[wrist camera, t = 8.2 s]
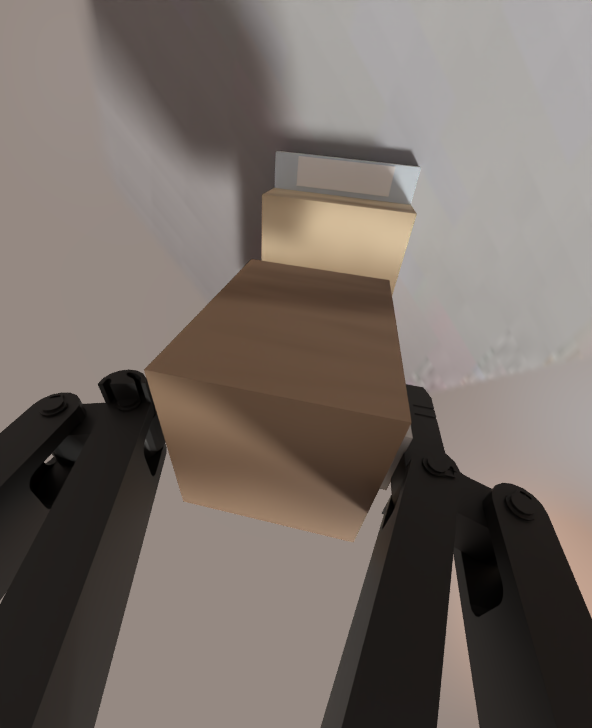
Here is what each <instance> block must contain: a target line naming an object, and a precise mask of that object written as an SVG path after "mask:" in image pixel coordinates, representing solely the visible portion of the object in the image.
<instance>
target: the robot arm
mask: <svg viewBox="0 0 592 728" xmlns="http://www.w3.org/2000/svg"><path fill="white" fill-rule="evenodd" d="M98 386H99V388H100V390H101V393H102V395H103V397H104V400H105V402H106V403H92V404H82V403H81V401H80V399H79V398H78V396H77V395H75V394H72V393H58V394H53V395H50V396H47V397H45V398H43V399H41V400H39V401H38V402H36V403H35V404H33V405H32V406H31V407H30V408H29V409H28V410H26V411H25V412H24V413H23V414H22V415H21V416H20V417H18V418H17V419H16V420H15V421H14V422H12V423H11V424H10V425H9V426H8V427H7V428H6V429H4V430H3V431H2V432H1V433H0V600H1V598H2V597H3V596H4V594H5V593H6V594H5V596H4V598H3V600H2V602H1V604H0V728H94V726H95V722H96V718H97V714H98V711H99V707H100V703H101V699H102V695H103V692H104V688H105V684H106V680H107V677H108V673H109V669H110V665H111V661H112V658H113V653H114V650H115V646H116V642H117V639H118V635H119V631H120V627H121V623H122V619H123V616H124V611H125V608H126V604H127V601H128V597H129V593H130V589H131V585H132V582H133V578H134V574H135V570H136V566H137V563H138V559H139V555H140V551H141V547H142V544H143V540H144V536H145V532H146V528H147V525H148V521H149V517H150V513H151V509H152V505H153V502H154V498H155V494H156V490H157V487H158V483H159V479H160V475H161V471H162V467H163V464H164V460H165V456H166V444H165V443H166V441H165V438H164V435H163V431H162V428H161V425H160V421H159V418H158V415H157V411H156V408H155V405H154V401H153V398H152V395H151V391H150V388H149V385H148V381H147V378H146V377H145V376H144V374H143V373H141V372H139V371H136V370H122V371H118V372H114V373H112V374H109V375H108V376H106V377H104V378H103V379H102V380H101V381H100V382H99V383H98ZM406 390H407V396H408V403H409V409H410V416H411V422H412V423H411V425H410V427H409V429H408V431H407V433H406V435H405V437H404V439H403V441H402V443H401V445H400V447H399V450H398V452H397V454H396V456H395V458H394V460H393V462H392V464H391V466H390V468H389V470H388V472H387V474H386V476H385V478H384V480H383V482H382V484H381V487H380V489H383V490H387V488H388V486H389V484H390V482H391V491H392V495H391V497H390V499H389V501H388V502H387V504H386V506H385V508H384V510H383V512H382V514H384V516H383V520H382V523H381V527H380V530H379V533H378V537H377V540H376V544H375V547H374V550H373V553H372V557H371V560H370V564H369V567H368V570H367V573H366V577H365V580H364V584H363V587H362V590H361V594H360V597H359V601H358V604H357V607H356V610H355V614H354V617H353V620H352V624H351V627H350V630H349V634H348V637H347V641H346V644H345V648H344V651H343V654H342V657H341V661H340V664H339V667H338V671H337V674H336V678H335V681H334V684H333V688H332V691H331V694H330V698H329V701H328V704H327V708H326V711H325V715H324V718H323V721H322V725H321V728H437V719H438V709H439V699H440V698H439V697H440V688H441V677H442V667H443V657H444V645H445V636H446V624H447V615H448V603H449V593H450V583H451V572H452V561H453V554H454V560H455V567H456V573H457V580H458V587H459V593H460V600H461V607H462V613H463V619H464V626H465V633H466V639H467V647H468V653H469V659H470V667H471V673H472V680H473V687H474V693H475V700H476V706H477V713H478V720H479V727H480V728H592V618H591V616H590V613H589V611H588V609H587V606H586V604H585V602H584V599H583V597H582V594H581V592H580V590H579V587H578V585H577V582H576V581H575V578H574V575H573V573H572V571H571V568H570V566H569V563H568V561H567V559H566V556H565V554H564V552H563V549H562V547H561V545H560V542H559V540H558V537H557V535H556V533H555V530H554V528H553V525H552V523H551V521H550V518H549V516H548V514H547V512H546V511H545V509H544V507H543V506H542V504H541V503H540V502H539V501H538V500H537V499H536V498H535V497H534V496H533V495H532V494H530V493H529V492H527V491H526V490H524V489H523V488H521V487H518V486H516V485H513V484H509V483H501V484H498V485H495V486H494V488H493V489H491V488H489V487H487V486H485V485H483V484H481V483H479V482H477V481H474V480H472V479H470V478H469V477H467V476H465V475H463V474H462V473H461V472H460V471H459V469H458V467H457V465H456V463H455V462H454V461H453V460H452V459H451V458H450V457H449V456H448V455H447V454H445V451H444V447H443V443H442V439H441V435H440V431H439V427H438V423H437V420H436V415H435V411H434V407H433V403H432V399H431V397H430V396H429V394H428V393H427V392H426V390H425V389H424V388H423V387H418V386H412V385H407V384H406ZM51 454H52V455H53V456H54V457H53V458H52V459H51V460H50V461H49V462H47V463H44V461H45V460H46V459H47V458H48V457H49V456H50V455H51Z"/></svg>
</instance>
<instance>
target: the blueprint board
mask: <svg viewBox="0 0 592 728" xmlns="http://www.w3.org/2000/svg"><path fill="white" fill-rule="evenodd" d="M420 170H421V167H419V166H411V165H402V164H393V163H384V162H375V161H366V160H357V159H348V158H339V157H330V156H321V155H312V154H303V153H294V152H285V151H276V157H275V188H280V189H288V190H296V191H304V192H312V193H320V194H328V195H337V196H345V197H353V198H361V199H369V200H377V201H385V202H393V203H401V204H409V205H411V202H412V198H413V195H414V191H415V188H416V184H417V181H418V177H419V174H420Z"/></svg>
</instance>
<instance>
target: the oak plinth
mask: <svg viewBox="0 0 592 728" xmlns="http://www.w3.org/2000/svg"><path fill="white" fill-rule="evenodd" d="M416 215H417V214H416V212H415V211H414V209H413V208H412V206H411V205H409V204H401V203H393V202H385V201H377V200H369V199H361V198H353V197H345V196H337V195H328V194H320V193H312V192H304V191H296V190H288V189H280V188H273V189H271V190H269V191H268V192H266V193H264V194H262V261H268V262H274V263H281V264H287V265H294V266H301V267H307V268H314V269H320V270H327V271H333V272H340V273H347V274H353V275H360V276H366V277H373V278H379V279H386V280H390V287H391V293H392V294H393V291H394V287H395V284H396V281H397V277H398V274H399V271H400V267H401V264H402V261H403V258H404V254H405V251H406V248H407V244H408V241H409V238H410V234H411V231H412V228H413V224H414V221H415V218H416Z"/></svg>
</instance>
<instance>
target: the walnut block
mask: <svg viewBox="0 0 592 728" xmlns="http://www.w3.org/2000/svg"><path fill="white" fill-rule="evenodd" d="M144 371H145V374H146V378H147V381H148V385H149V388H150V391H151V395H152V398H153V401H154V405H155V408H156V411H157V415H158V418H159V421H160V425H161V428H162V431H163V435H164V438H165V441H166V445H167V448H168V451H169V455H170V458H171V461H172V464H173V468H174V471H175V474H176V478H177V481H178V485H179V488H180V491H181V495H182V498H183V501H184V502H188V503H192V504H197V505H201V506H205V507H209V508H213V509H217V510H222V511H226V512H230V513H234V514H238V515H242V516H246V517H251V518H255V519H258V520H263V521H267V522H271V523H275V524H280V525H283V526H287V527H292V528H296V529H300V530H304V531H308V532H312V533H317V534H321V535H325V536H329V537H333V538H337V539H341V540H345V541H350V542H354V540H355V538H356V536H357V534H358V532H359V530H360V528H361V526H362V524H363V521H364V519H365V517H366V515H367V513H368V511H369V509H370V507H371V505H372V503H373V501H374V499H375V497H376V495H377V493H378V491H379V489H380V487H381V484H382V482H383V480H384V478H385V476H386V474H387V472H388V470H389V468H390V466H391V464H392V462H393V460H394V458H395V456H396V454H397V452H398V450H399V447H400V445H401V443H402V441H403V439H404V437H405V435H406V433H407V431H408V429H409V427H410V425H411V423H412V422H411V416H410V409H409V403H408V396H407V390H406V383H405V377H404V371H403V364H402V358H401V351H400V345H399V338H398V332H397V325H396V319H395V313H394V306H393V300H392V293H391V287H390V280H386V279H379V278H373V277H366V276H360V275H353V274H347V273H340V272H333V271H327V270H320V269H314V268H307V267H301V266H294V265H287V264H281V263H274V262H268V261H261V260H254V259H251V260H250V261H249V262H248V263H247V264H246V265H245V266H244V267H243V268H242V269H241V270H240V271H239V272H238V274H237V275H236V276H235V277H234V278H233V279H232V280H231V281H230V282H229V283H228V284H227V285H226V286H225V287H224V288H223V289H222V290H221V291H220V292H219V293H218V294H217V295H216V296H215V297H214V298H213V299H212V300H211V301H210V302H209V303H208V304H207V305H206V306H205V308H204V309H203V310H202V311H201V312H200V313H199V314H198V315H197V316H196V317H195V318H194V319H193V320H192V321H191V322H190V323H189V324H188V325H187V326H186V327H185V328H184V329H183V330H182V331H181V332H180V333H179V334H178V335H177V336H176V337H175V338H174V339H173V340H172V342H171V343H170V344H169V345H168V346H167V347H166V348H165V349H164V350H163V351H162V352H161V353H160V354H159V355H158V356H157V357H156V358H155V359H154V360H153V361H152V362H151V363H150V364H149V365H148V366H147V367H146V368H145V369H144Z"/></svg>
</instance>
